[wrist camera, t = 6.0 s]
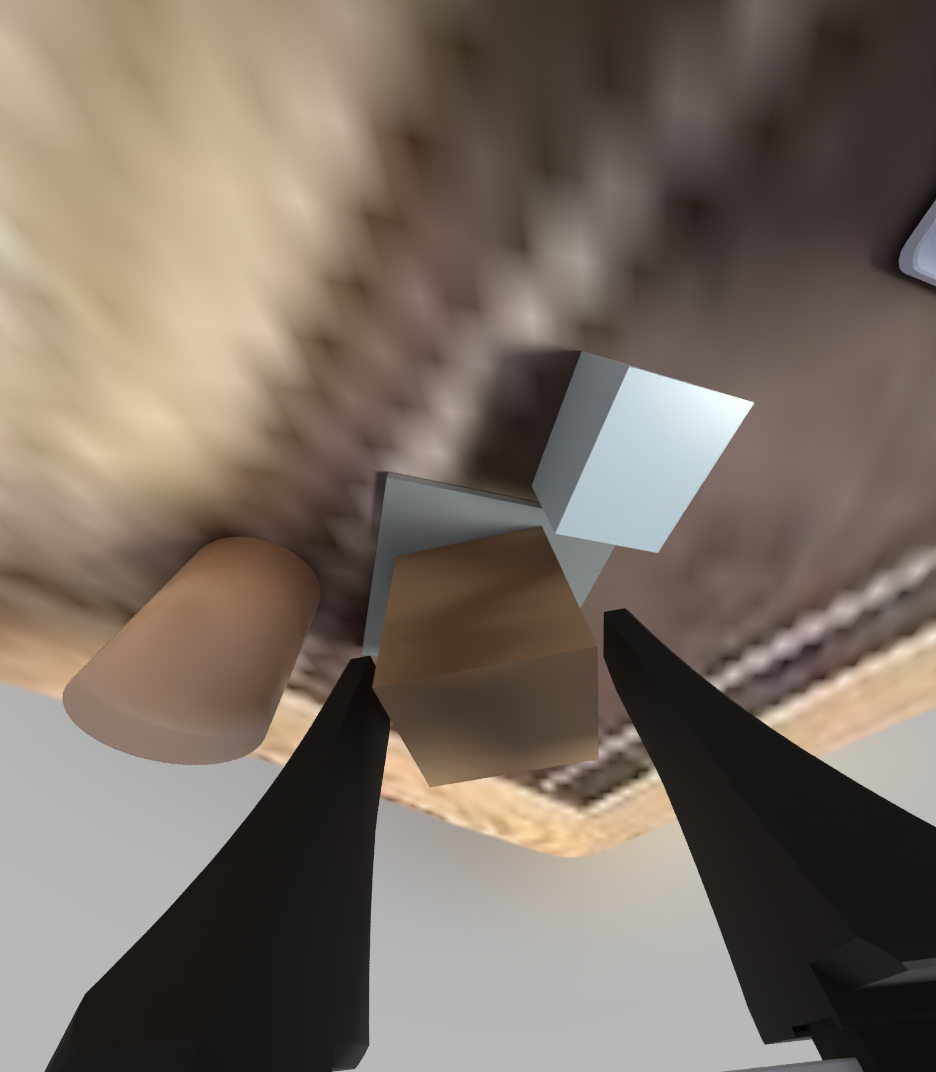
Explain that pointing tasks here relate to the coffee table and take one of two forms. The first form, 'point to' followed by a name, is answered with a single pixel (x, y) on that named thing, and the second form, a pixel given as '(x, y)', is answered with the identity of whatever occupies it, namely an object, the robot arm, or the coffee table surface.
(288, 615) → the tan rounded cylinder
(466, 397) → the coffee table surface
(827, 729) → the coffee table surface
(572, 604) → the walnut block
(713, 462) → the blue plastic box
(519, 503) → the slate coaster
